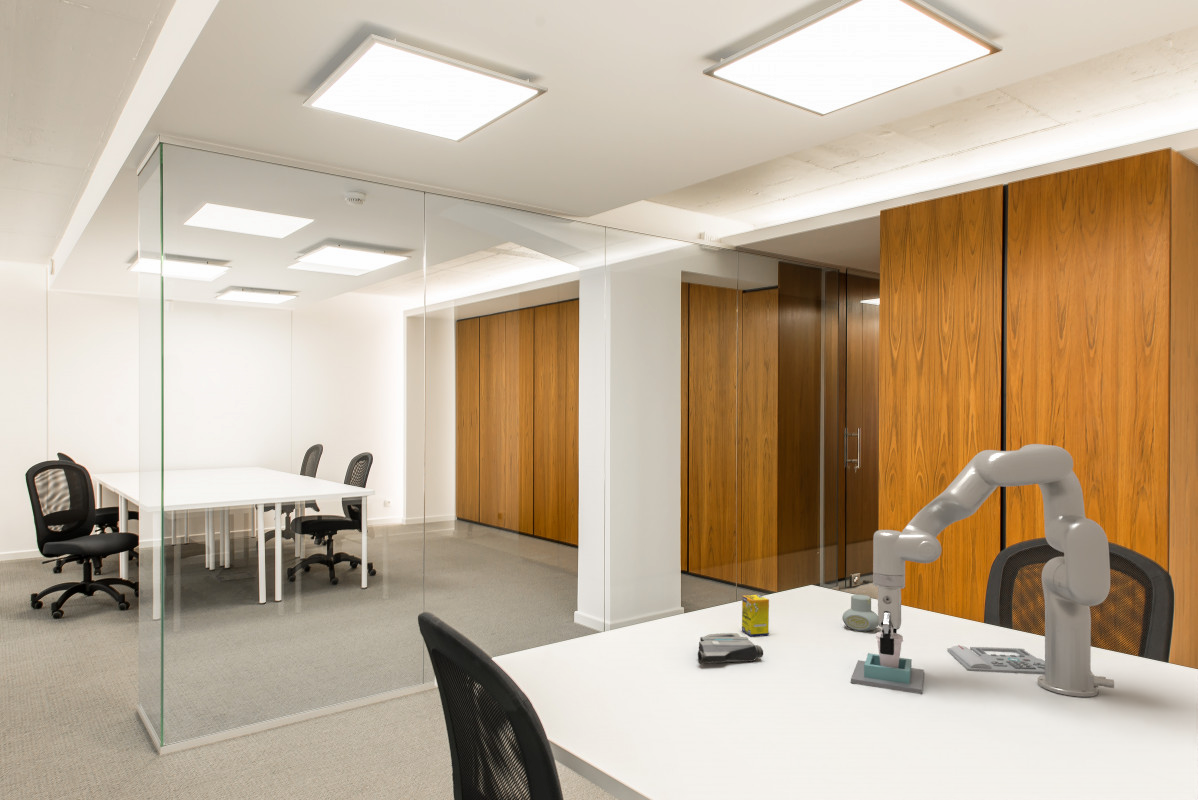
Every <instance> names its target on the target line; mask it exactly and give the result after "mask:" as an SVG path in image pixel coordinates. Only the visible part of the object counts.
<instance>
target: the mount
mask: <svg viewBox="0 0 1198 800" xmlns="http://www.w3.org/2000/svg"><path fill="white" fill-rule="evenodd" d="M865 658H866V659H865V660H857V662H856V664H855V667H854V669H853V672H852V675H851V678H850V684H857V685H862V686H863V685H864V686H868V687H869V686H870V687H875V688H882V689H888V690H894V691H902V692H907V693H915V694H920V695H922V694H923V685H924V684H923V683H924V675H925V669H922V668H915V667H913V666H912V661H913V660H912V659H911V658H905V657H900V658H899V666H898V668H892V667H886V666H881V665H880V657H879V654H877V653H868V654H867V655H866V657H865Z"/></svg>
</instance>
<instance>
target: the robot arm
mask: <svg viewBox="0 0 1198 800" xmlns="http://www.w3.org/2000/svg"><path fill="white" fill-rule="evenodd" d="M1073 469H1074V459H1073V457H1072V455H1071V454H1070V452H1069V451H1068V450H1066V449H1064V448H1063V447H1060V446H1057V445H1051V444H1044V443H1043V444H1042V443H1031V444H1026V445H1023V446H1022V447H1020V448H1019V449H1017V450H996V449H985V450H982V451H980V452H978V453H977V454H975V455H974V457H973V458H972V459H971V460H970V461H969V462H968V463H967V464H966V465H965V467H964V468H963V469H962V470H961V471H960V473H959V474H958V475H957V476H956V477H955V478H954V479H953V481H951V483H950V484H949V485H948V486H947V487H946V489H945V490H944V491H943V492H941V493H940V494H939V495H938V496H936V497H935V498H934V499H932V500H931V501H930V502H929V503H927V504H926V505H925V506H923V508H921V509H920V510H919V511H917V513H916V514H915V515H914V516H913V518H912V519H911V520H909V522H908V523H907V525H906V526H905V527H904V529H902V531H899V530H893V529H879V530H876V531H875V532H874V533H873V536H872V537H873V539H872V540H873V542H872V543H873V547H872V548H873V549H872V551H873V552H872V553H873V554H872V555H873V556H872V557H873V558H872V559H873V560H872V562H873V563H872V566H873V567H872V573H873V575H872V585H873V586H874V587H876V588H877V615H878V622H879V625H878V627H880V632H881V637H880V653H881V654H887V655H894V638H893V633H897V630H900V628H901V625H902V590H903V589H905V588H906V561H908V562H913V563H919V564H931V563H933V562H935V561H937V560H938V559H939V558H940V556H941V555H942V546H941V543H940V541H939V540H938V538H937V537H938V536H939V535H940V534H941V533H942V531H944V530H945V529H946V528H948V527H949V526H950V525H952V524H955V522H959V521H962V520H964V519H967V518H969V517H971V516H972V515H974V514H975V513H976V512H977V511H978V510H979V509H980V507H981V506H982V505H983V503H984V502H985V501H987V499H988V498H989V497H990V495H992V493H993V492H994V491H996V489H997V488H998V487H1004V488H1005V487H1006V488H1007V487H1008V488H1009V487H1019V486H1020V487H1022V486H1030V485H1032V486H1033V485H1038V487H1039V490H1040V492H1041V495H1042V502H1043V518H1044V521H1043V522H1044V523H1043V524H1044V537H1045V540H1046V542H1047V544H1048V545H1049V546H1050V547H1052V548H1053V549H1054V550H1056V551H1058V552H1061V553H1064V554H1063V556H1056V557H1053V558H1051V559H1049V560H1048V561H1047V562H1046V563H1045V564H1044V566H1043V568H1042V571H1041V585H1042V591H1043V598H1044V661H1045V675H1043V674H1041V675H1039V676H1038V677H1037V685H1039V686H1040V687H1041V688H1043V689H1045V690H1047V691H1050V692H1052V693H1057V694H1060V695H1065V696H1072V697H1081V698H1084V697H1085V698H1086V697H1087V698H1088V697H1095V696H1097V695H1098V694H1099V687H1104V688H1108V689H1115V681H1114V679H1111V678H1110V679H1109V678H1106V676H1100V675H1099V676H1098V675H1095V674H1093V672H1092V670H1091V658H1092V657H1091V656H1092V655H1091V653H1092V651H1091V645H1092V642H1091V641H1092V640H1091V638H1092V637H1091V636H1092V634H1091V633H1092V632H1091V631H1092V618H1091V617H1092V616H1091V608H1090V607H1095V606H1098V605H1100V604H1102V603H1103V602H1104V601H1105V600H1106V599H1107V597H1108V595H1109V593H1110V589H1111V565H1110V549H1109V540H1108V537H1107V534H1106V532H1105V530H1104V529H1103V528H1102V526H1101V525H1100V524H1099V523H1097V522H1096V521H1095V520H1093V519H1091V518H1087V517H1086V513H1085V512H1086V511H1085V503H1084V493H1083V488H1082V486H1081V482H1080V480H1079V478H1078V477H1077V475H1076V472H1074V470H1073ZM984 504H985V503H984ZM890 625H892V626H890ZM890 630H891V631H890ZM890 633H891V634H890ZM897 634H898V633H897Z"/></svg>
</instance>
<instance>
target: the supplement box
mask: <svg viewBox="0 0 1198 800" xmlns="http://www.w3.org/2000/svg"><path fill="white" fill-rule="evenodd" d="M741 597H742V599H741V600H742V601H741V611H742V612H741V616H742V617H741V632H742V633H744V634H746V635H748V636H749V637H750V638H755V637H767V636H769V620H770V618H769V616H770V615H769V613H770V611H769V610H770V609H769V608H770V599H768V598H766V597H764V596H762V595H761V594H751V595H750V594H749V595H748V594H747V595H746V594H745V595H741Z"/></svg>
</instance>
